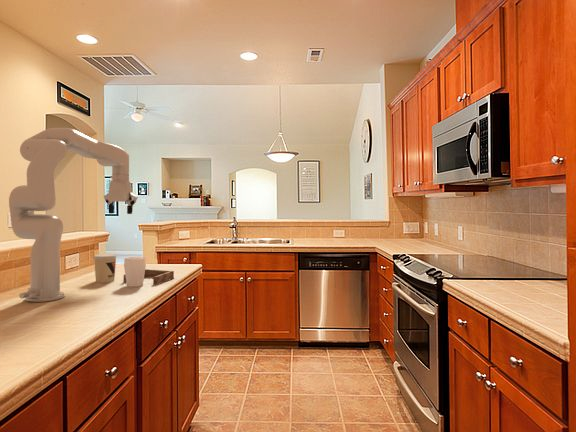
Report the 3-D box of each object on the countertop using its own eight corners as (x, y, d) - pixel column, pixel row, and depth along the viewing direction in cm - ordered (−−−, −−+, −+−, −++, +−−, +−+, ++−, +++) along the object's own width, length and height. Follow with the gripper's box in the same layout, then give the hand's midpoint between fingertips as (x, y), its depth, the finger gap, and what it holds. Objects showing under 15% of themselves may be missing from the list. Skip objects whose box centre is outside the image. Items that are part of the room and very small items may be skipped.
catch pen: (155, 284, 177) (155, 277, 177) (123, 282, 181) (123, 274, 180) (173, 278, 193) (173, 271, 193) (143, 276, 196) (143, 269, 196)
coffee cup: (110, 283, 178) (110, 256, 178) (89, 282, 179) (89, 256, 178) (119, 279, 188) (119, 254, 187) (100, 278, 188) (100, 253, 187)
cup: (123, 284, 178) (123, 257, 177) (144, 282, 181) (144, 256, 181) (124, 288, 169) (124, 260, 169) (146, 286, 173) (146, 259, 173)
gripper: (99, 177, 189) (99, 213, 190) (132, 177, 186) (132, 214, 187) (109, 178, 197) (109, 213, 197) (141, 178, 194) (141, 213, 194)
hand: (120, 213), depth 192 cm, fingers open, 9 cm apart
